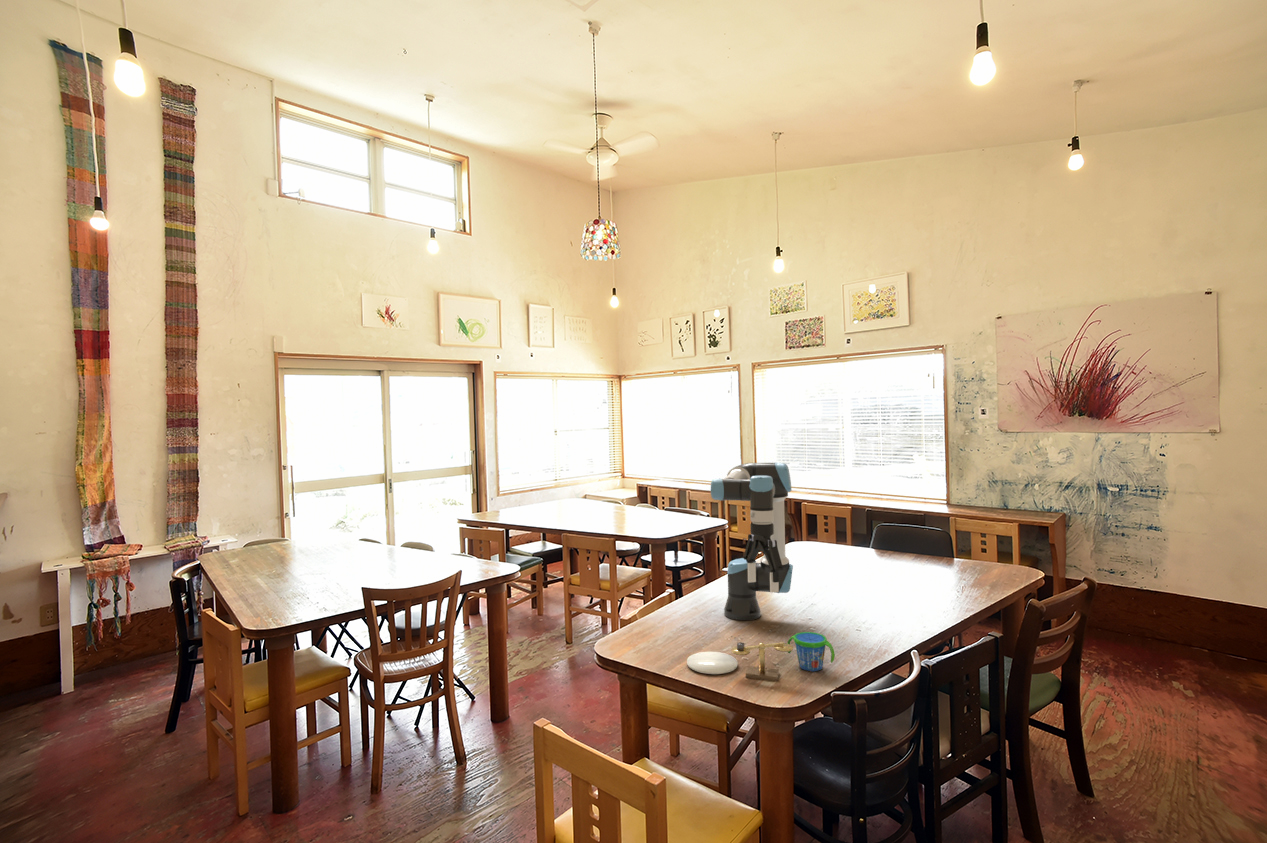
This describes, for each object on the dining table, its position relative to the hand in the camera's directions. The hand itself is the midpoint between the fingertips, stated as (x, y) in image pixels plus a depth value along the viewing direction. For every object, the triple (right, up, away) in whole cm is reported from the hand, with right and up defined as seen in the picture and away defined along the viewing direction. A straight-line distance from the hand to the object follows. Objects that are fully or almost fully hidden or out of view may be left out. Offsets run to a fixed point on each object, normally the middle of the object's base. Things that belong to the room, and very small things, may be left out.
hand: (762, 586), depth 200 cm
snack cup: (+16, -27, +1) cm, 32 cm away
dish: (-16, -28, +5) cm, 32 cm away
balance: (-1, -28, -4) cm, 28 cm away
